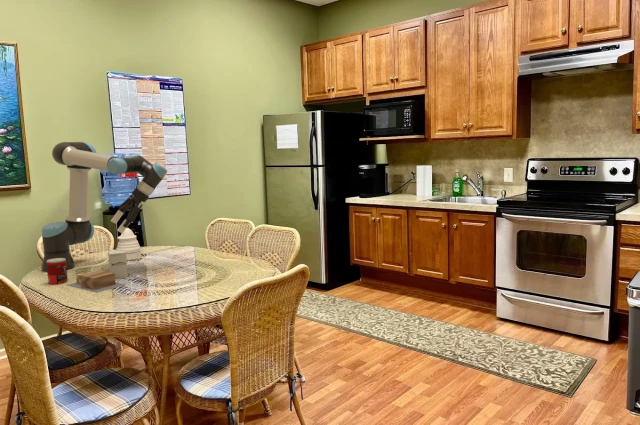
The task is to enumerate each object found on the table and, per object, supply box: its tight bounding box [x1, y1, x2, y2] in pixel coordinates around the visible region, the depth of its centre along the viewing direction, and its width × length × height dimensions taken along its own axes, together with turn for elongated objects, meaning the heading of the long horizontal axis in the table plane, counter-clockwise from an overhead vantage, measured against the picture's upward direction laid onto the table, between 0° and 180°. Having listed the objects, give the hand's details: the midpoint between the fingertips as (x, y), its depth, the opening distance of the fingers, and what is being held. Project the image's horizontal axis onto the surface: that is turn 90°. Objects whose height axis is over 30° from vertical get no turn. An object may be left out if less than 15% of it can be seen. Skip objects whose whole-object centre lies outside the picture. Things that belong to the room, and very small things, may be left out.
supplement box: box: [107, 250, 129, 280], centre depth 229 cm, size 7×7×13 cm
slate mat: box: [66, 281, 127, 294], centre depth 217 cm, size 24×14×1 cm, turn 56°
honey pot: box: [115, 227, 142, 260], centre depth 275 cm, size 13×13×18 cm
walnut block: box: [80, 270, 116, 290], centre depth 215 cm, size 10×10×5 cm
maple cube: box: [75, 272, 89, 284], centre depth 220 cm, size 4×4×4 cm
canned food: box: [46, 258, 69, 285], centre depth 222 cm, size 8×8×11 cm
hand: (116, 227), depth 238 cm, fingers open, 13 cm apart
